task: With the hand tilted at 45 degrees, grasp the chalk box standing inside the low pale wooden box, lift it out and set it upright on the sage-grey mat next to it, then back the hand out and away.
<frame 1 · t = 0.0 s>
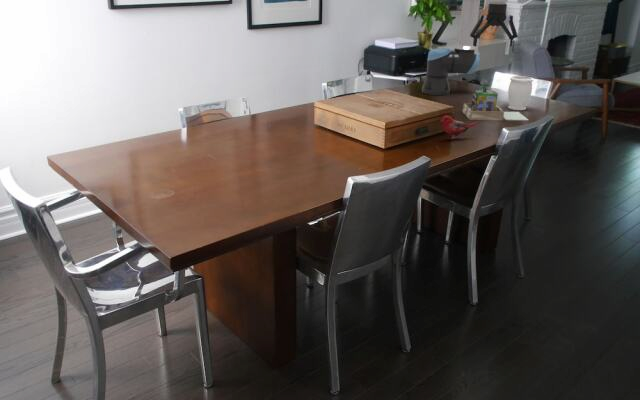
hand: (491, 54, 233), 28 cm above the table, tool pointing down, fingers open, 13 cm apart
jar: (516, 108, 258), on the table
decorative bird figurine: (457, 139, 211), on the table
sage-grey mat: (512, 116, 244), on the table
pale wooden box: (482, 115, 244), on the table
chalk box: (482, 116, 244), resting in pale wooden box
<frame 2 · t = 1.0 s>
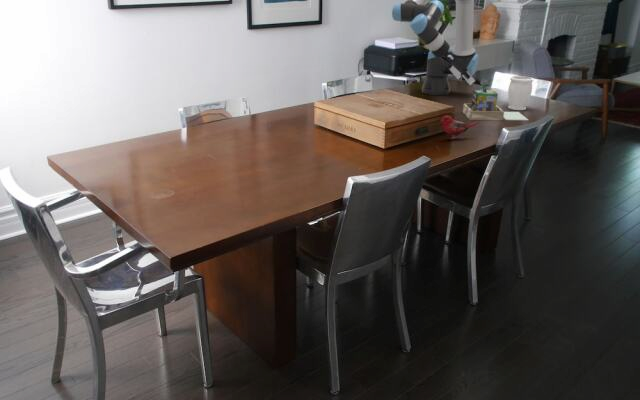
hand: (466, 80, 236), 17 cm above the table, tool tilted 45°, fingers open, 13 cm apart
nothing on the table moved.
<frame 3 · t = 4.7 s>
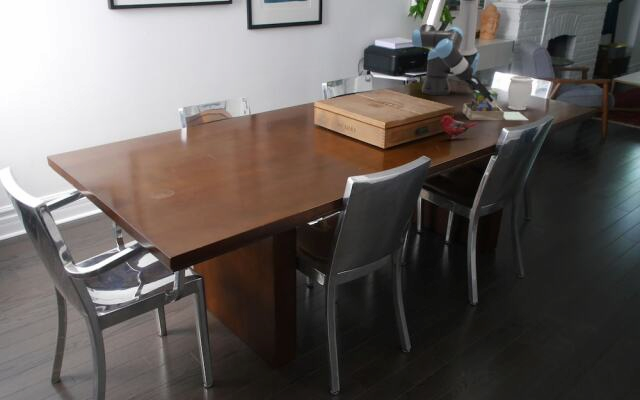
hand: (489, 102, 242), 6 cm above the table, tool tilted 45°, fingers closed on chalk box, 10 cm apart
chalk box: (482, 116, 244), resting in pale wooden box, touching gripper
everything else where it was.
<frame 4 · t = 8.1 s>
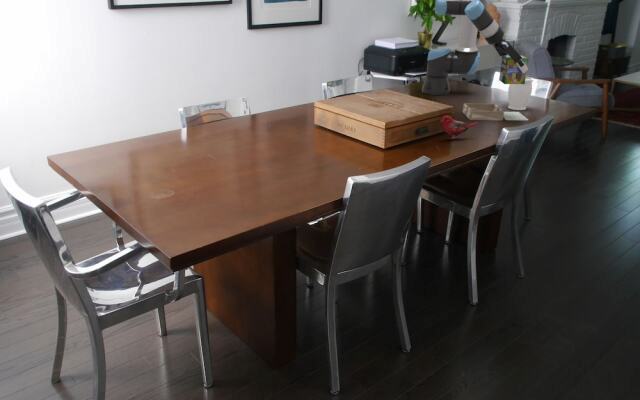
hand: (519, 68, 235), 22 cm above the table, tool tilted 45°, fingers closed on chalk box, 10 cm apart
chalk box: (511, 82, 237), point 16 cm above the table, touching gripper
everything else where it was.
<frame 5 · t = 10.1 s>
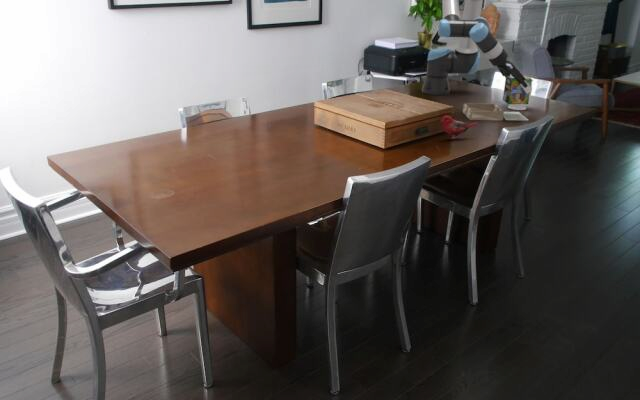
hand: (523, 89, 238), 13 cm above the table, tool tilted 45°, fingers closed on chalk box, 10 cm apart
chalk box: (514, 102, 241), point 7 cm above the table, touching gripper
everything else where it was.
when the fingers open (7 cm above the table, at t = 11.7 s): chalk box stays where it is, resting on sage-grey mat.
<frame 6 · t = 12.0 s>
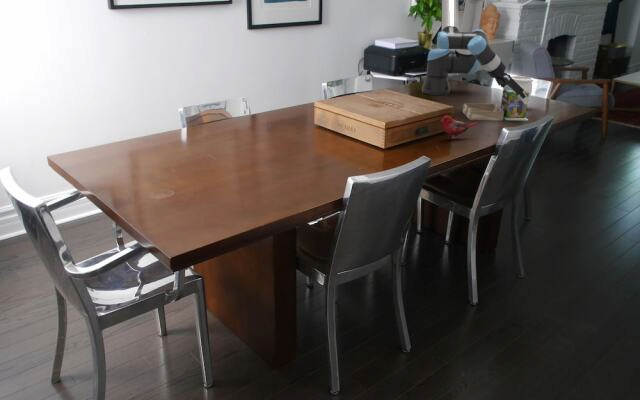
hand: (520, 98, 241), 8 cm above the table, tool tilted 45°, fingers open, 13 cm apart
chalk box: (512, 115, 244), resting on sage-grey mat
everything else where it was.
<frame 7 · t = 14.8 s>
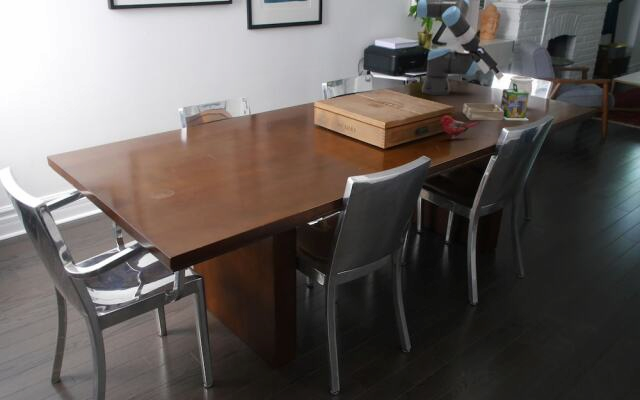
hand: (493, 74, 236), 19 cm above the table, tool tilted 45°, fingers open, 13 cm apart
nothing on the table moved.
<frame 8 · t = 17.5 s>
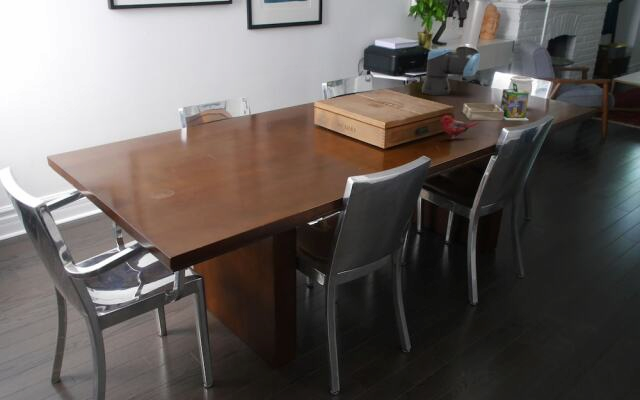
hand: (453, 33, 248), 35 cm above the table, tool pointing down, fingers open, 13 cm apart
nothing on the table moved.
at the end: chalk box inside the target area (0.2 cm from its centre), resting on sage-grey mat; chalk box tilted 0°; the gripper is holding nothing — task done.
